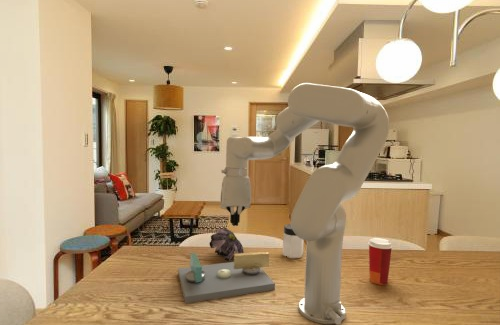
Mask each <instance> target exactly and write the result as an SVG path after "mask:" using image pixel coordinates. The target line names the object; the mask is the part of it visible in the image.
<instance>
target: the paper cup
mask: <svg viewBox="0 0 500 325" xmlns="http://www.w3.org/2000/svg"><path fill="white" fill-rule="evenodd" d="M367 245H368V260H369V261H368V267H369V269H368V270H369V281H370V282H371V284H375V285H379V286H386V285H387V284H388V282H389V274H390V268H391V267H390V264H391V256H392V249H393V247H394V246H393V245H392V242H391V240H388V239H385V238H379V237H373V238H370V239H369V240H368V242H367ZM385 284H386V285H385Z"/></svg>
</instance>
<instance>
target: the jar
mask: <svg viewBox="0 0 500 325" xmlns="http://www.w3.org/2000/svg"><path fill="white" fill-rule="evenodd" d="M304 241H305V240H303V239H300V238H299V237H298V236H297V235H296V234H295V233H294V231H293V229H292V226H291V223H289V224H285V225H284V226H283V235H282V256H284V257H286V256H287V258H289V259H301V258H302V257H303V256H304Z"/></svg>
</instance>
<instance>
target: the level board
mask: <svg viewBox="0 0 500 325" xmlns="http://www.w3.org/2000/svg"><path fill="white" fill-rule="evenodd" d="M201 266H202V271H204V272H205V280H204V281H202V282H199V283H190V282H188V281H187V280H186V274H187V272H189V271H192V270H191V267H190V266H188V267H187V266H186V267H181V268H180V267H178V269H177V270H178V271H177V272H178V278H180V279H179V282H180V287H182V288H181V291H182V296H183V300H184V304H191V303H192V304H193V303H198V302H204V301H210V300H216V299H224V298H229V297H235V296H242V295H247V294H254V293H260V292H261V293H262V292H267V291H268V292H269V291H272V290H273V291H274V290H275V289H276V288H275V287H276V286H275V285H276V283H275V282H274V281H273V279H271V277H270V276H269V275H268V274H267V273H266V271H265V270H263V269H262V268H263V267H260V273H259V274H257V275H246V274H244V273H243V272H242V269H234V261H231V262H229V261H228V262H222V263H221V262H220V263H212V264H205V265H204V264H203V265H201Z"/></svg>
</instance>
